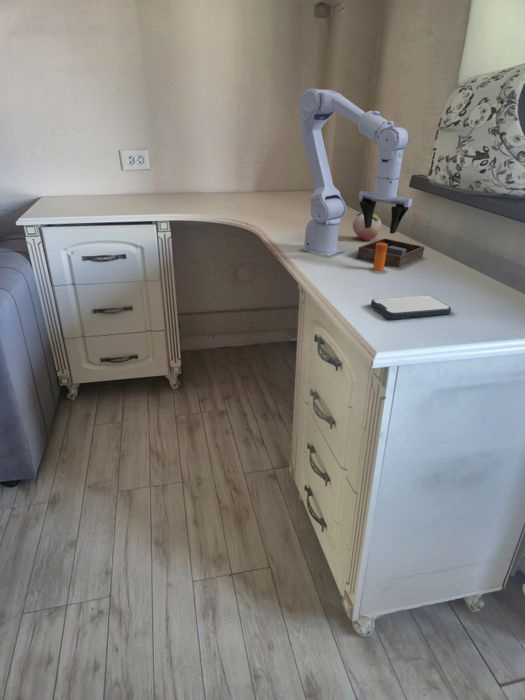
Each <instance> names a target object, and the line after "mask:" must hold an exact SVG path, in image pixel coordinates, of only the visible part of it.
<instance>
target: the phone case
mask: <svg viewBox="0 0 525 700" xmlns="http://www.w3.org/2000/svg"><path fill="white" fill-rule="evenodd" d="M370 307H372V308H373V309H374V310H376V311H377V312H379V313H380V314H381V315H383V316H384V317H385V318H387V319H390V320H391V319H392V320H395V319H409V318H419V317H429V316H433V317H434V316H442V315H443V316H444V315H449V314H451V311H452V307H451V306H450V305H448V304H446V303H444V302H443V301H441V300H439V299H437V298H435V297H433V296H432V295H415V296H414V295H413V296H400V297H399V296H398V297H387V298H386V297H385V298H374V299H371V301H370Z"/></svg>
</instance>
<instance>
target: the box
mask: <svg viewBox="0 0 525 700" xmlns="http://www.w3.org/2000/svg"><path fill="white" fill-rule="evenodd" d="M379 242H381V243H386V244H388V247H389V246H395V247H400V248H404V249H407V250H406V254H403V255H401V256H398V255H393V254H389V253H387V251H386V257H385V264H384V265H387V266H390V267H395V268H401V267H403V266H405V265H408V264H410V263H412V262H414V261H416V260H419V259H421V258H423V256H424V252H425V246H422V245H417V244H413V243H408V242H403V241H399V240H396V239H395V240H394V239H390V238H381V239H378V240H375V241H372V242H370V243H366V244H364V245H361V246H358V251H357V258H358V259H361V260H362V259H363V260H366V261H371V262H374V259H375V252H376V243H379Z"/></svg>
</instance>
